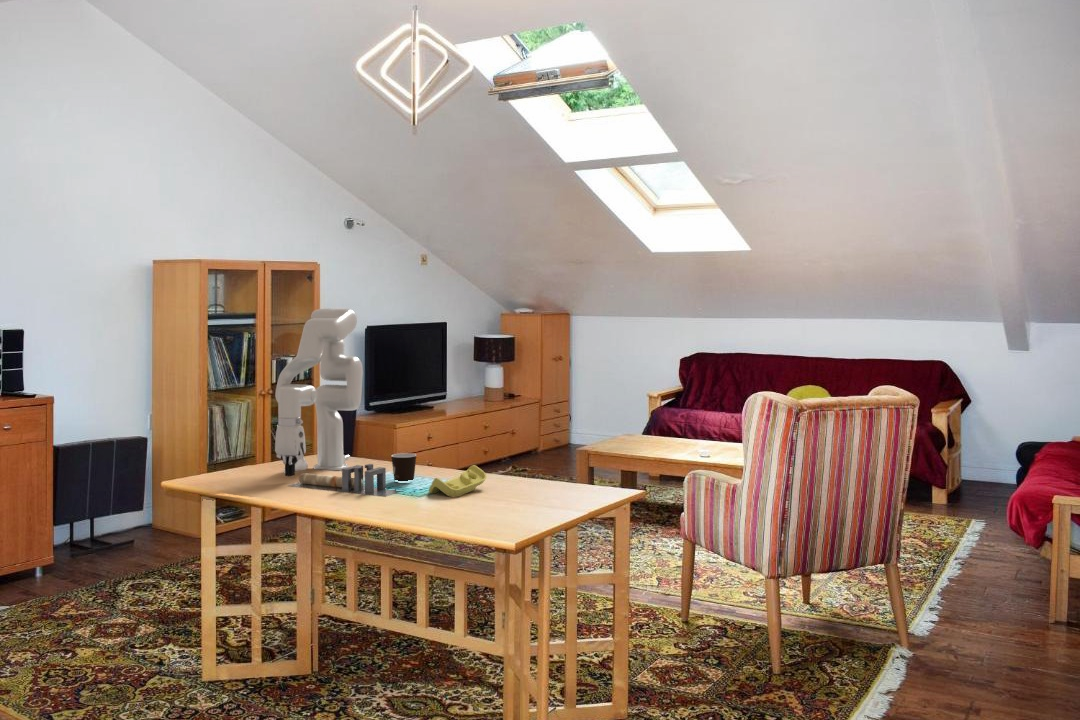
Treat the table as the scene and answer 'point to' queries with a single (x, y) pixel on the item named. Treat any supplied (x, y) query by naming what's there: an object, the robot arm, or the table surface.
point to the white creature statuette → (300, 465)
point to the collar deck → (358, 482)
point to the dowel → (324, 480)
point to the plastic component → (460, 482)
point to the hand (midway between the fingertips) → (290, 475)
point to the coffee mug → (403, 466)
